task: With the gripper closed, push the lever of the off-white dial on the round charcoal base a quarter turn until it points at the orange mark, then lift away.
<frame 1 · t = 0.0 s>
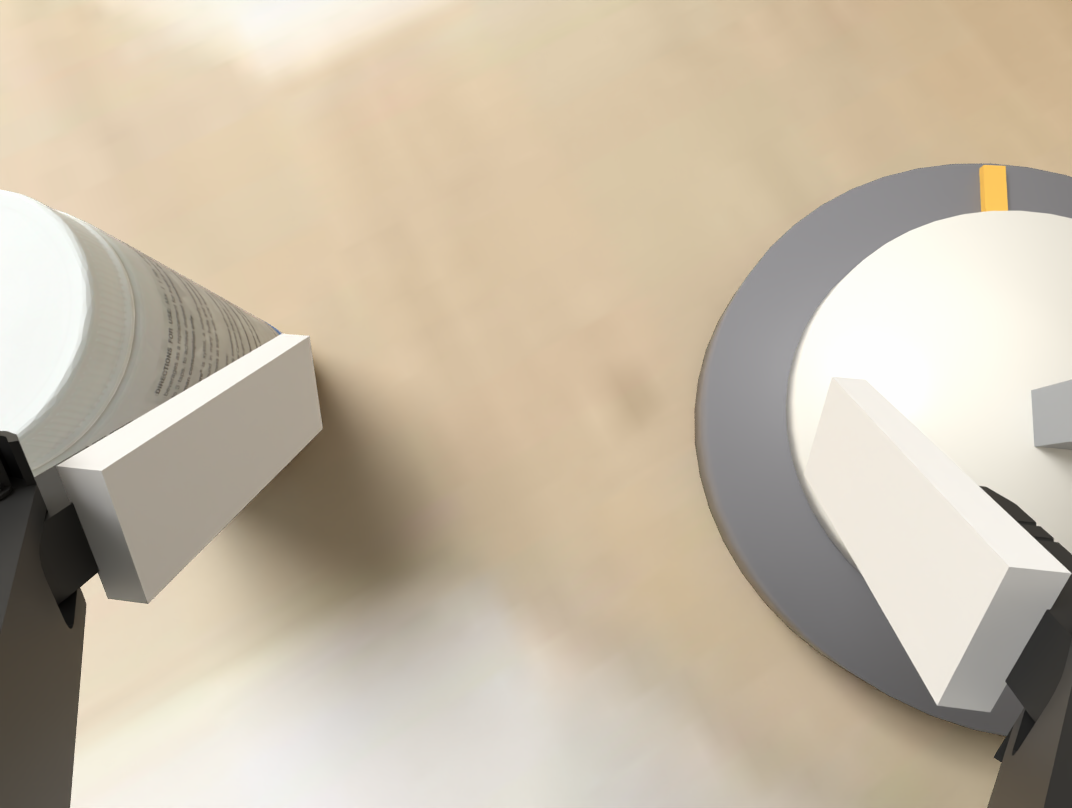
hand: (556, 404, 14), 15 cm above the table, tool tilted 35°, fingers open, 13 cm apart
dial base: (958, 433, 28), on the table
supplement tub: (240, 408, 31), on the table
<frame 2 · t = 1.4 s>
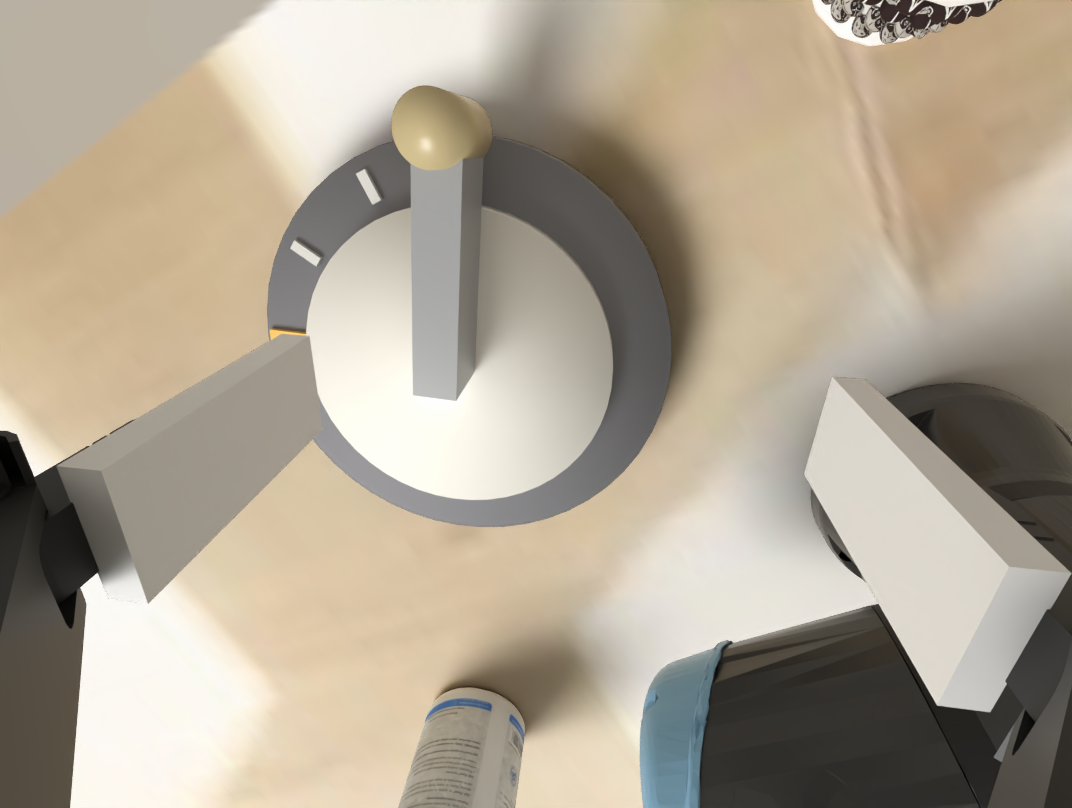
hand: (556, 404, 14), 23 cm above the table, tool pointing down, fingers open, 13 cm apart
dial: (447, 339, 31), point 7 cm above the table, hinge at 0.0°
dial base: (473, 344, 38), on the table
supplement tub: (479, 715, 54), on the table
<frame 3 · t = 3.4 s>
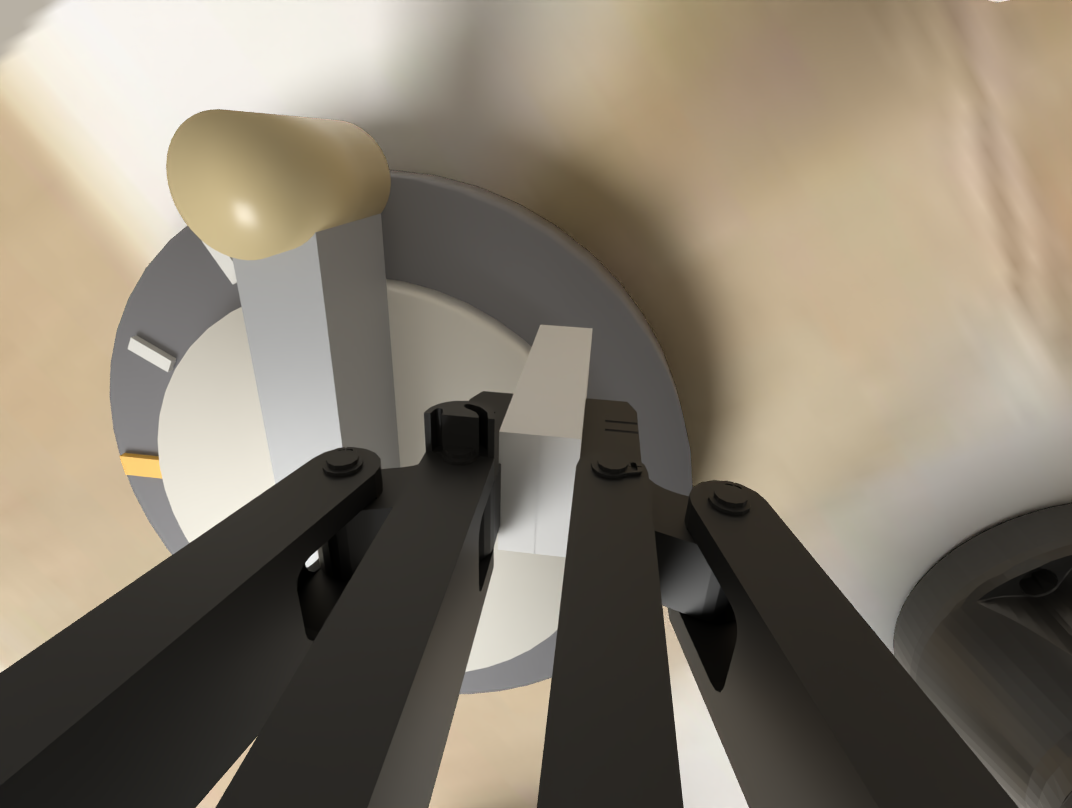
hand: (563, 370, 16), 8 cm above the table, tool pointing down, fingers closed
dial: (348, 488, 20), point 7 cm above the table, hinge at 0.0°
dial base: (412, 456, 27), on the table
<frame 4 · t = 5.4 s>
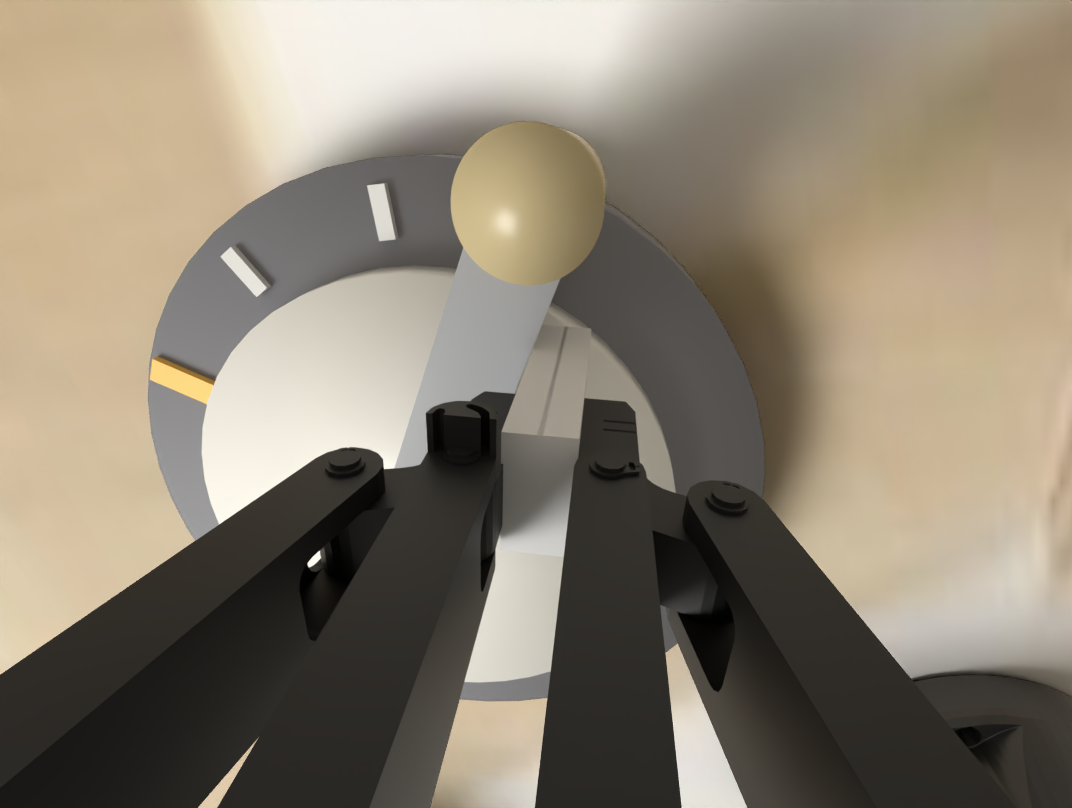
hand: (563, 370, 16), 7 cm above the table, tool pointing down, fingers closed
dial: (435, 495, 19), point 7 cm above the table, hinge at 2.9°, touching gripper
dial base: (460, 455, 26), on the table
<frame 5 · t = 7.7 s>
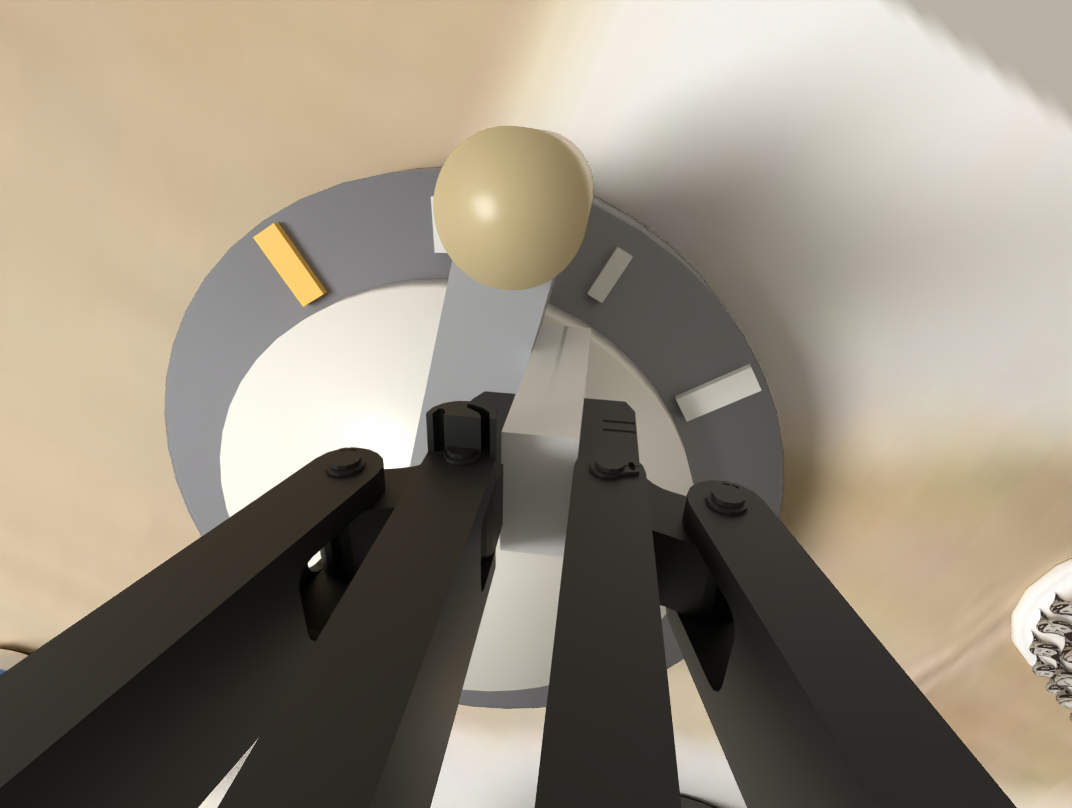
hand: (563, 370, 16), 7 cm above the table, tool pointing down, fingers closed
dial: (451, 506, 19), point 7 cm above the table, hinge at 44.9°, touching gripper
dial base: (475, 464, 26), on the table
supplement tub: (35, 689, 39), on the table
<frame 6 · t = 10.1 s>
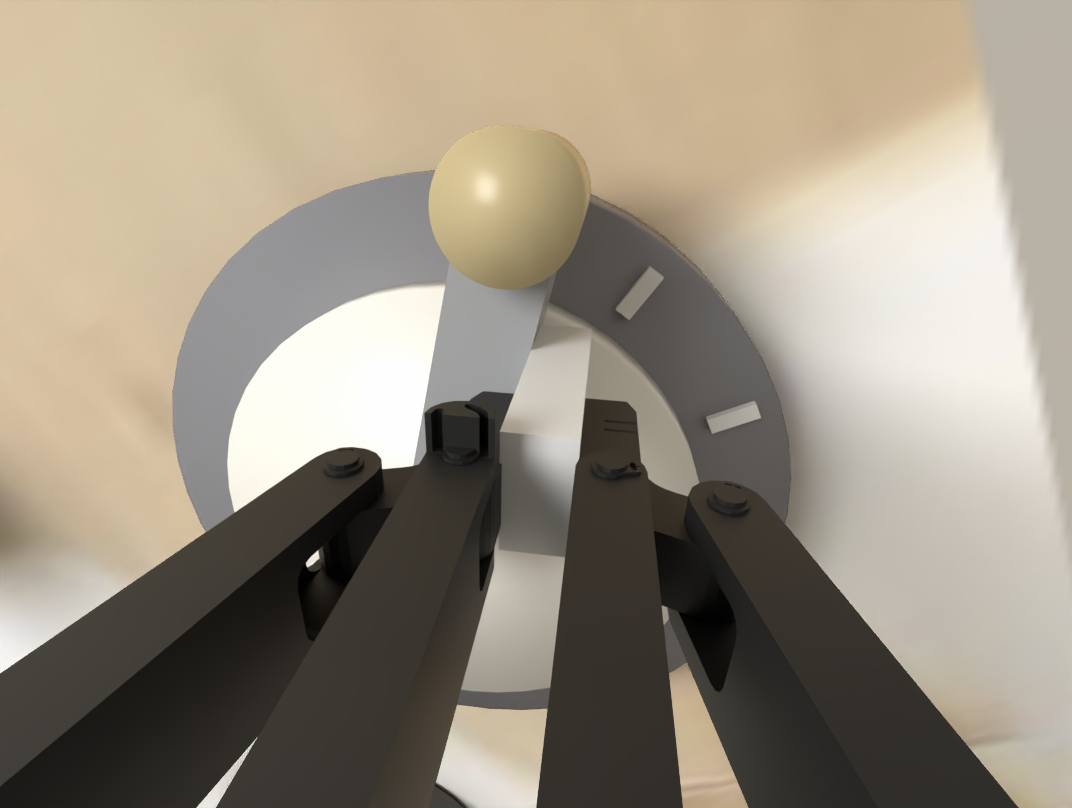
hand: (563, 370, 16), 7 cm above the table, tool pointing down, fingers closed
dial: (455, 508, 19), point 7 cm above the table, hinge at 81.0°, touching gripper
dial base: (481, 465, 26), on the table
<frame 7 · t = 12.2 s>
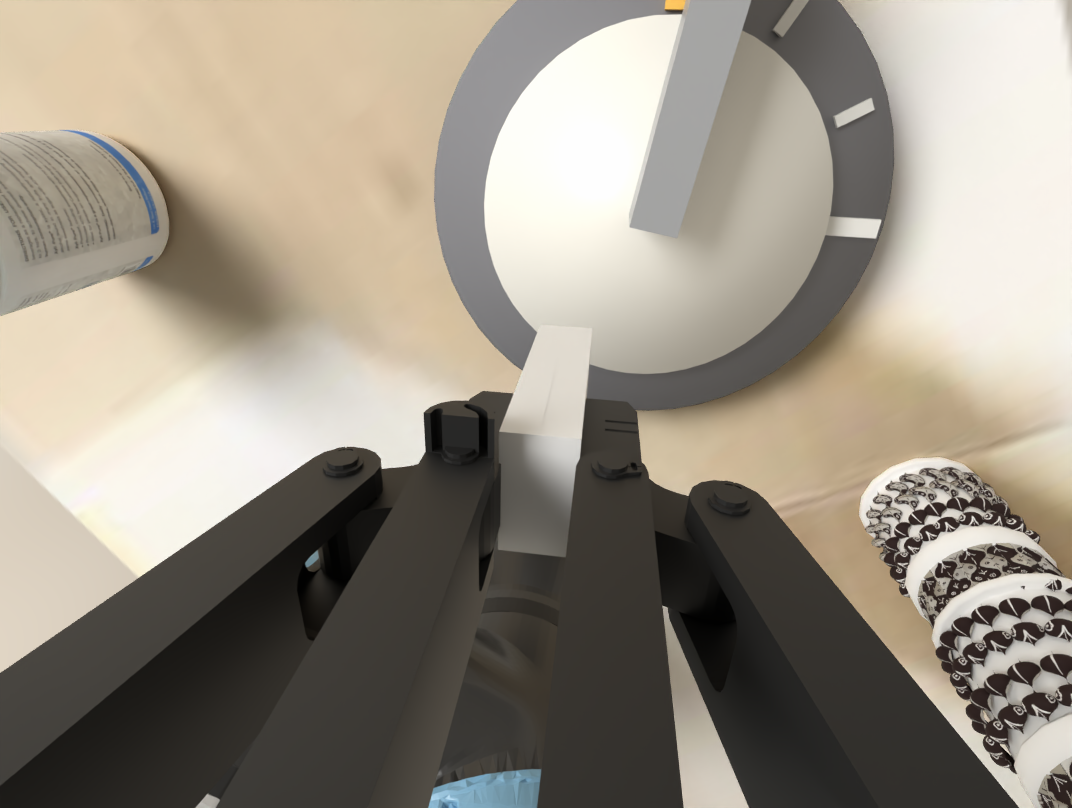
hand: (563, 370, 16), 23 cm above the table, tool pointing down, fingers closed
dial: (665, 173, 28), point 7 cm above the table, hinge at 81.0°
dial base: (646, 207, 35), on the table
decorative candle: (918, 502, 42), on the table
supplement tub: (116, 203, 41), on the table
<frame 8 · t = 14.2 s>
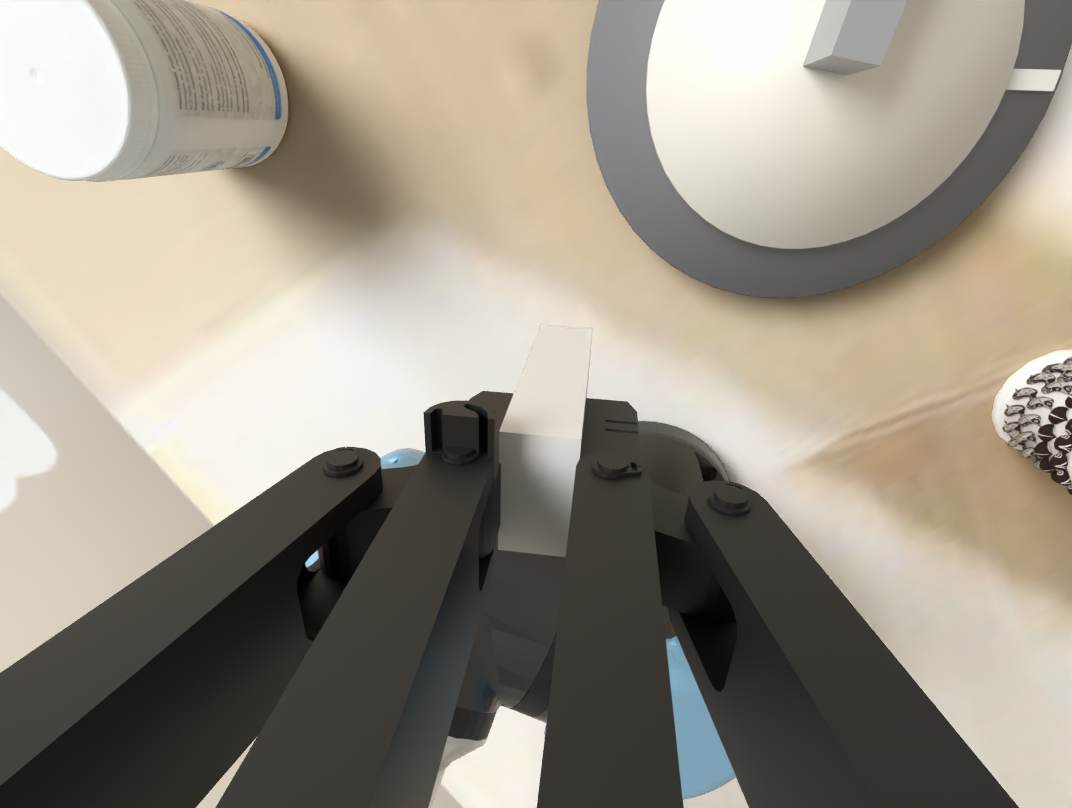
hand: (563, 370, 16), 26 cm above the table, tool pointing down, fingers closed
dial: (860, 7, 27), point 7 cm above the table, hinge at 81.0°
dial base: (798, 79, 35), on the table
decorative candle: (1054, 400, 41), on the table
supplement tub: (231, 95, 39), on the table
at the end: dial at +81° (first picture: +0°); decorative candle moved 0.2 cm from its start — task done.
